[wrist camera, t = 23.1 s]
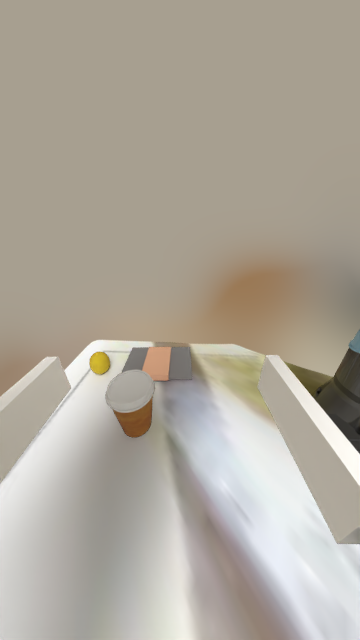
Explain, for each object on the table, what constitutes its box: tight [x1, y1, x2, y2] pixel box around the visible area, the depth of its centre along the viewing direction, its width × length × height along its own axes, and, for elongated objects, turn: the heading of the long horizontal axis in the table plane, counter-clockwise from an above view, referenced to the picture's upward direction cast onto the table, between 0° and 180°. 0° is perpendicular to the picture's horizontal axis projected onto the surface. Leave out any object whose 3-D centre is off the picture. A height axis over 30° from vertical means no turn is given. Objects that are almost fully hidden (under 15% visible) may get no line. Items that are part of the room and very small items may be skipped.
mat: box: [122, 347, 192, 380], centre depth 57 cm, size 22×16×1 cm
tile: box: [142, 347, 171, 381], centre depth 55 cm, size 8×2×14 cm
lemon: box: [90, 352, 110, 374], centre depth 51 cm, size 6×6×8 cm
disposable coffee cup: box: [106, 370, 155, 437], centre depth 36 cm, size 10×10×12 cm
